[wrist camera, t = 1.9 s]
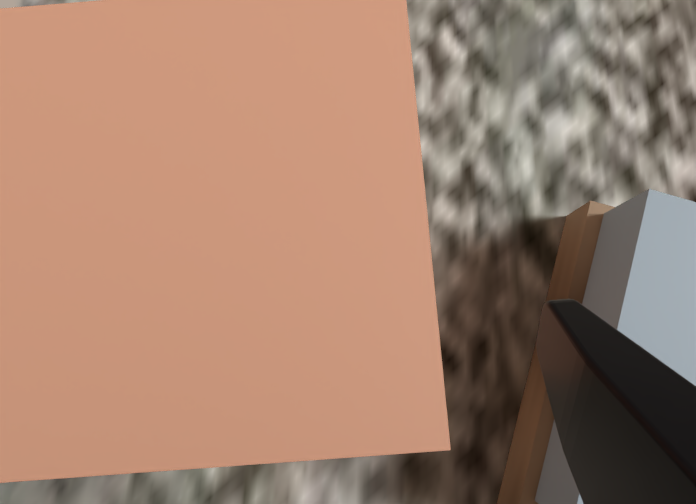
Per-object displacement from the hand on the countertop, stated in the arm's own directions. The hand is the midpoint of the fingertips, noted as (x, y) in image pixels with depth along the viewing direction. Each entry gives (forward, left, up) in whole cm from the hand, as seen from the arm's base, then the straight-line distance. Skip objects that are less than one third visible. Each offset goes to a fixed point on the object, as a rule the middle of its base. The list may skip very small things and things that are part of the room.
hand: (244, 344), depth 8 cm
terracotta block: (+1, +1, -9) cm, 9 cm away
